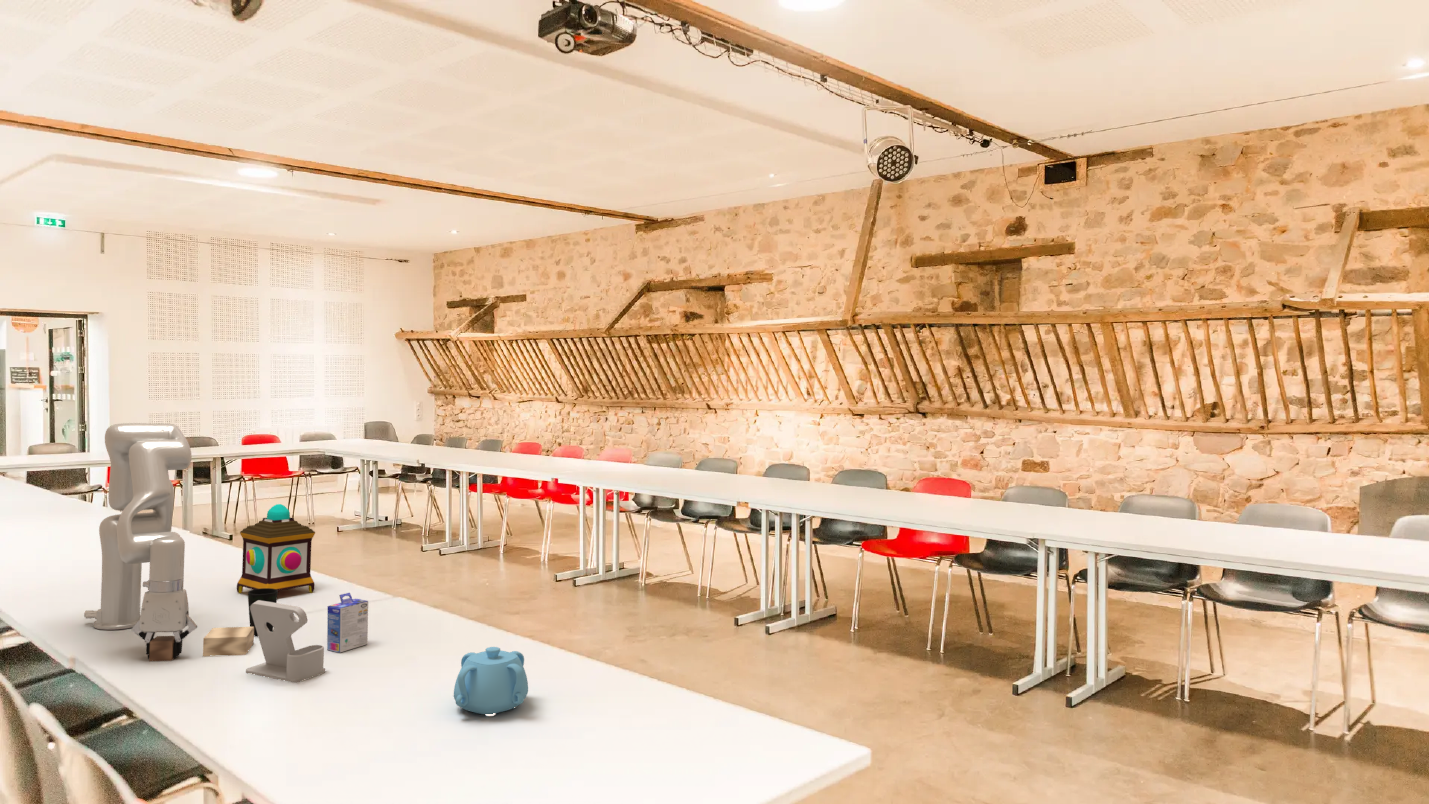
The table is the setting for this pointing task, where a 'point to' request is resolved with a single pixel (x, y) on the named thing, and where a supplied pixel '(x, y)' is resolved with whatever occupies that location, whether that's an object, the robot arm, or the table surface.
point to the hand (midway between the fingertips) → (163, 656)
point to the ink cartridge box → (347, 624)
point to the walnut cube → (161, 648)
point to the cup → (262, 595)
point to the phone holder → (284, 644)
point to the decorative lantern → (276, 553)
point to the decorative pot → (491, 681)
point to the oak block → (228, 641)
